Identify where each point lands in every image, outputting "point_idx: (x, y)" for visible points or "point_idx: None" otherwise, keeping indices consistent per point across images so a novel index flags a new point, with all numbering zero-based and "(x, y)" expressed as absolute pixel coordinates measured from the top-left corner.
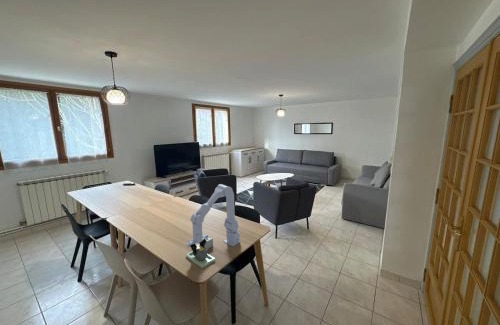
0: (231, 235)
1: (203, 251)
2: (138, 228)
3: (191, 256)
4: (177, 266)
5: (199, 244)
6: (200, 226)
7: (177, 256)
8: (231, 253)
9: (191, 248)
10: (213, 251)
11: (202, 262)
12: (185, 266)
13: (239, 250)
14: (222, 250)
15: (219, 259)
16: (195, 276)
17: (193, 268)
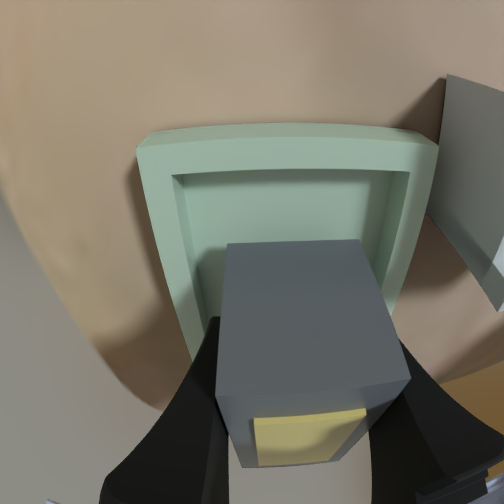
0: None
1: (282, 466)
2: None
3: (188, 268)
4: (26, 237)
5: (393, 397)
6: None
7: (60, 33)
8: (467, 363)
9: (165, 416)
10: (463, 281)
11: None
12: (94, 289)
13: (499, 360)
14: (490, 313)
15: None
16: (143, 392)
17: (155, 348)
